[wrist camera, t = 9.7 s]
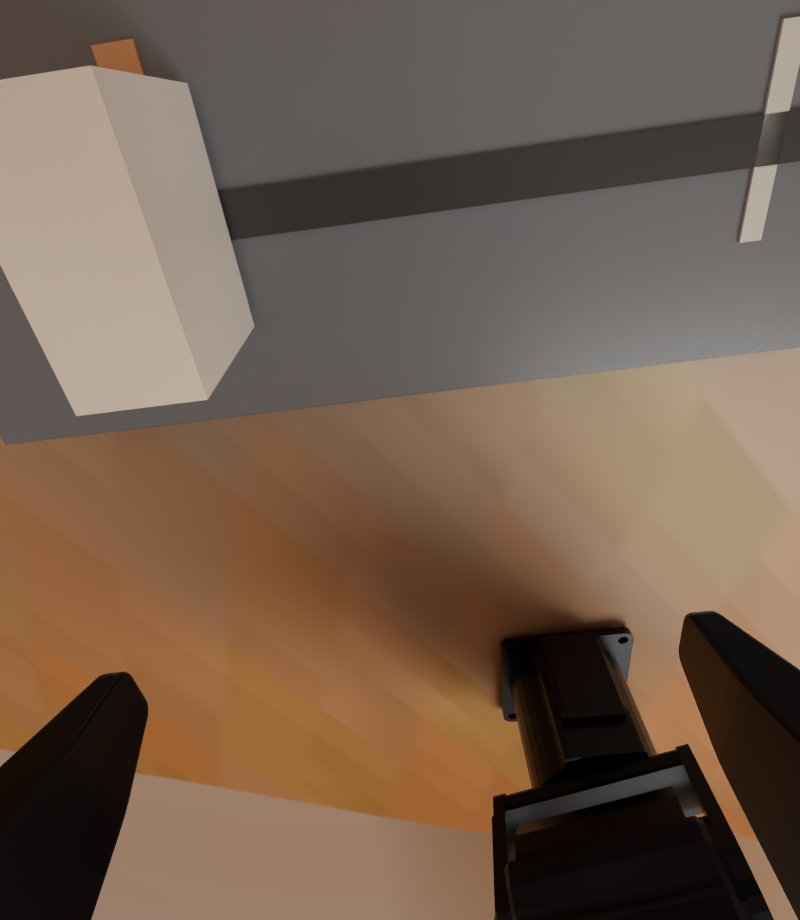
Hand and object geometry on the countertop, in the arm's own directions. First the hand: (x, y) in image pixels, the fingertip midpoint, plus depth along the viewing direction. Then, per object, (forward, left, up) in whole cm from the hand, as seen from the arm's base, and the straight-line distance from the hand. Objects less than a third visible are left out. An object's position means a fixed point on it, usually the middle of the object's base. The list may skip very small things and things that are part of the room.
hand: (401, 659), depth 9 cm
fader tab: (+6, +5, -10) cm, 13 cm away
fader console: (+6, -2, -13) cm, 14 cm away
